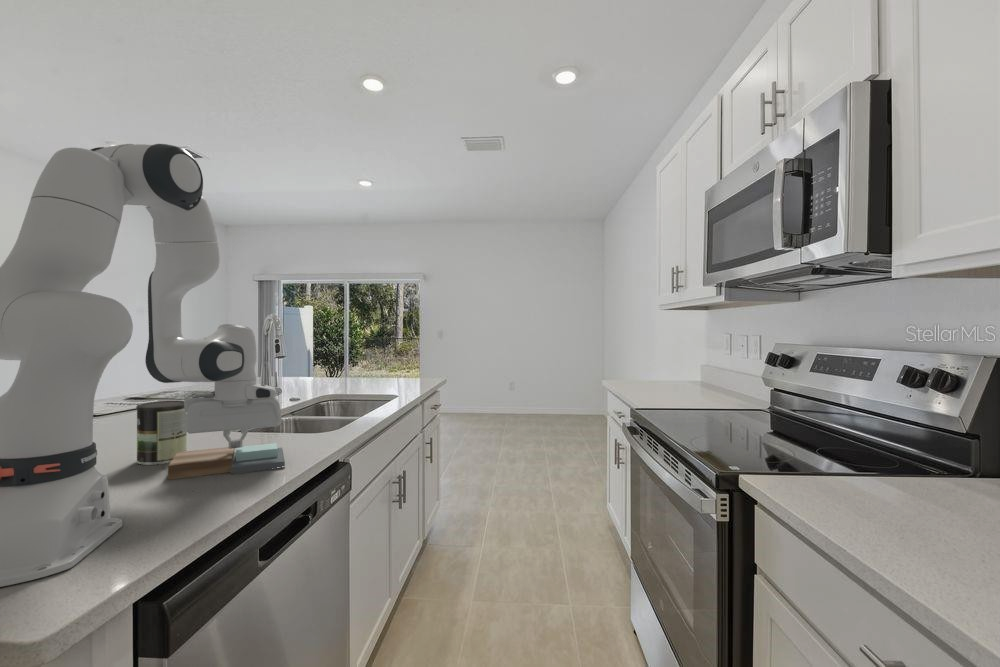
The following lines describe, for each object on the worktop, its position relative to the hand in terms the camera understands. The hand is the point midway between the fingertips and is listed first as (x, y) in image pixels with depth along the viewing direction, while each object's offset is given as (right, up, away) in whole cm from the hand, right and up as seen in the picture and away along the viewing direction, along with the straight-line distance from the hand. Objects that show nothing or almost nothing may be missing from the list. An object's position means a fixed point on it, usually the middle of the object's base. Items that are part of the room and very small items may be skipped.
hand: (235, 447), depth 109 cm
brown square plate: (-6, -4, -3) cm, 8 cm away
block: (+4, -3, +2) cm, 5 cm away
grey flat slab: (+5, -4, +1) cm, 7 cm away
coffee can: (-21, -4, +4) cm, 21 cm away
